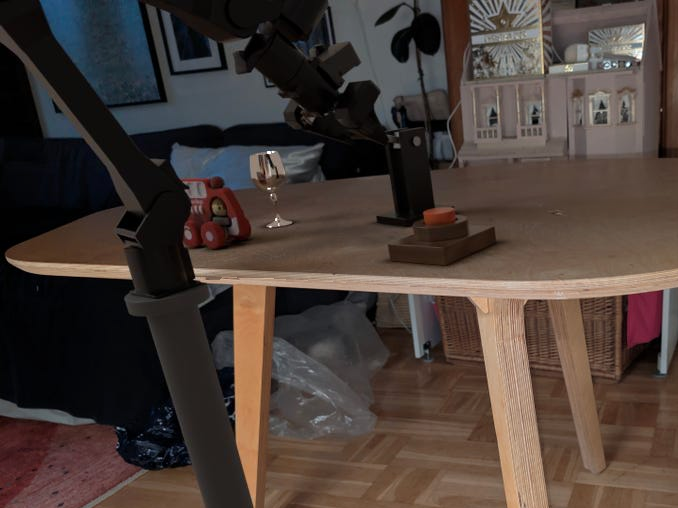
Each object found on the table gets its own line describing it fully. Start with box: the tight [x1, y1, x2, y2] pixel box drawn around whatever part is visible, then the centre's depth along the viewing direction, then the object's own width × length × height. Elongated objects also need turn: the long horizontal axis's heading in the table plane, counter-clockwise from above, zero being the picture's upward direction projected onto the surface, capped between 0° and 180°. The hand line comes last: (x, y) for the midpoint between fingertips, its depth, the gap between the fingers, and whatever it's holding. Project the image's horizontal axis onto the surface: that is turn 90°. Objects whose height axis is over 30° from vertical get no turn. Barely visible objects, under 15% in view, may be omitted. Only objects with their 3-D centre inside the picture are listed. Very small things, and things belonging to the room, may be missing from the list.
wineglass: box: [249, 150, 293, 228], centre depth 119 cm, size 6×6×12 cm
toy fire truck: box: [179, 175, 252, 250], centre depth 110 cm, size 7×12×10 cm, turn 60°
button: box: [423, 207, 456, 225], centre depth 89 cm, size 4×4×2 cm
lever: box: [349, 132, 401, 149], centre depth 107 cm, size 10×5×2 cm, turn 133°
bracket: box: [375, 126, 456, 228], centre depth 111 cm, size 10×8×14 cm
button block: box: [387, 214, 497, 266], centre depth 90 cm, size 11×9×4 cm
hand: (370, 142), depth 105 cm, fingers open, 8 cm apart
